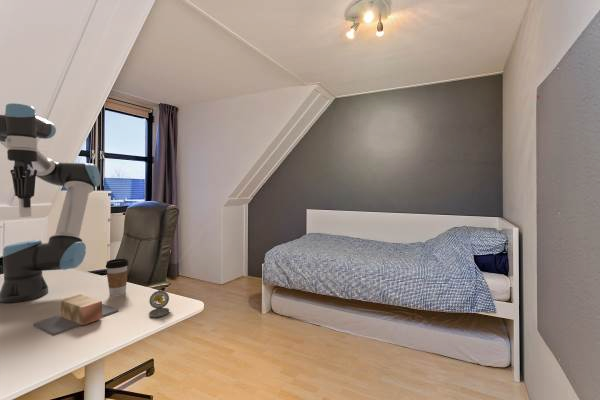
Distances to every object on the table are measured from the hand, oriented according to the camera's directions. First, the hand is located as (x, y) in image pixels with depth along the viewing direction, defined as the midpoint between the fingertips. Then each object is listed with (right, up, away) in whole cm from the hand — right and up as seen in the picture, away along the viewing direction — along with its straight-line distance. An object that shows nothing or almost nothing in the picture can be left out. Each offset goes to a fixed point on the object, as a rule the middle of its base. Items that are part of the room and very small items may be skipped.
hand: (25, 216), depth 100 cm
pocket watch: (+46, -36, +4) cm, 58 cm away
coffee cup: (+18, -35, +23) cm, 46 cm away
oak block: (+27, -33, -4) cm, 42 cm away
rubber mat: (+19, -36, 0) cm, 41 cm away
